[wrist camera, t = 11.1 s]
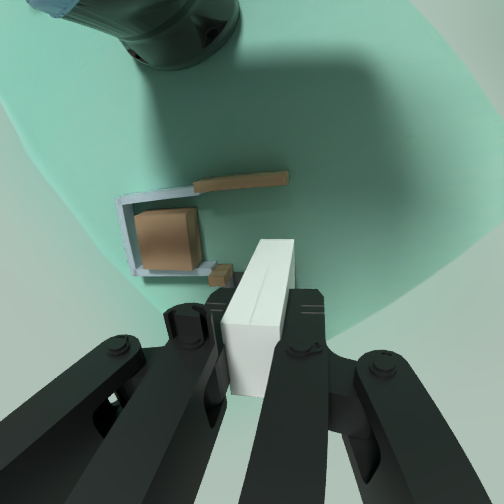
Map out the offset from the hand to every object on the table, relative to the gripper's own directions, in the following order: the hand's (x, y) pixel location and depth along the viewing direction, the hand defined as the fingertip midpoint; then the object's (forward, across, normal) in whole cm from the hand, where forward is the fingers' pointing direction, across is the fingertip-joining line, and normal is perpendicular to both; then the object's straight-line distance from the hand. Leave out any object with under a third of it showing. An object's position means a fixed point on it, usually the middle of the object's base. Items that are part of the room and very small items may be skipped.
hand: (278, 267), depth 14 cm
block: (+22, -16, -5) cm, 28 cm away
